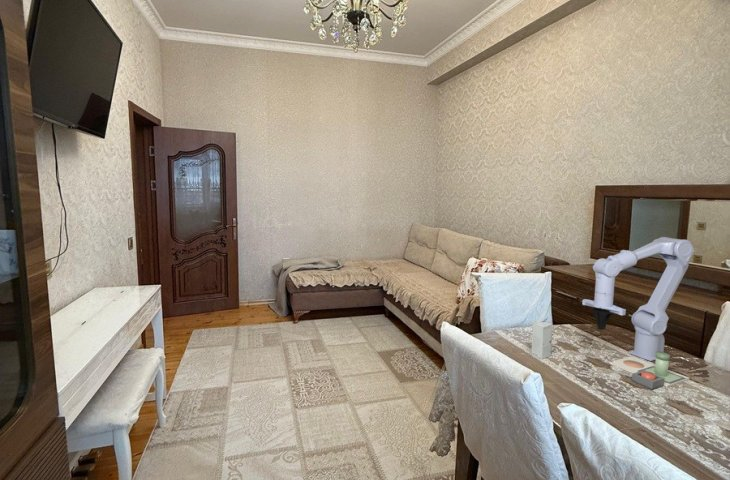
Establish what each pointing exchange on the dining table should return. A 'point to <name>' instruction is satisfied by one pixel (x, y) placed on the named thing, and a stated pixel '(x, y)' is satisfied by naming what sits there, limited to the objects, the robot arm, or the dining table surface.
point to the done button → (648, 375)
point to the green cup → (662, 364)
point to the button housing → (648, 381)
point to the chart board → (647, 369)
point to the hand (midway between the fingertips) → (601, 329)
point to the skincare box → (541, 339)
